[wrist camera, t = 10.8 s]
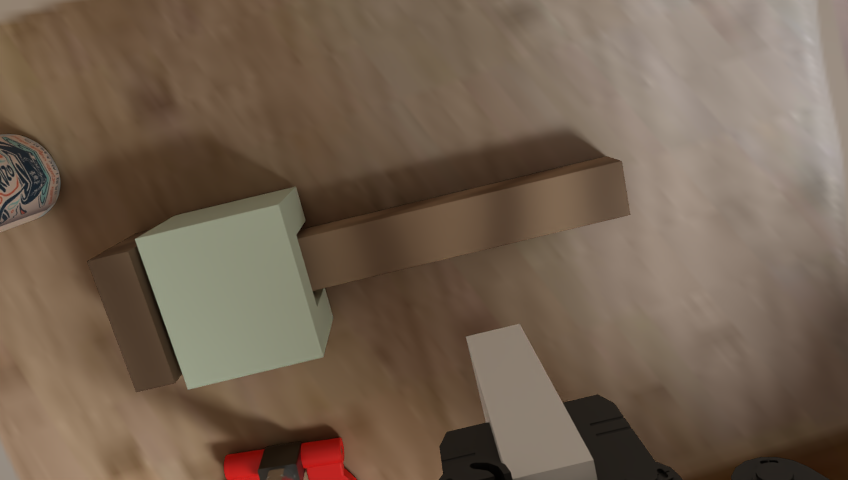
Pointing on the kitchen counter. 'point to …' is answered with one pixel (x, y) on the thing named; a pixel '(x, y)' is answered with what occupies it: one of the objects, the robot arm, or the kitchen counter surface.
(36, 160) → the beer can
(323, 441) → the tow hook
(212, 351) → the slider
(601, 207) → the rail
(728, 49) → the kitchen counter surface
